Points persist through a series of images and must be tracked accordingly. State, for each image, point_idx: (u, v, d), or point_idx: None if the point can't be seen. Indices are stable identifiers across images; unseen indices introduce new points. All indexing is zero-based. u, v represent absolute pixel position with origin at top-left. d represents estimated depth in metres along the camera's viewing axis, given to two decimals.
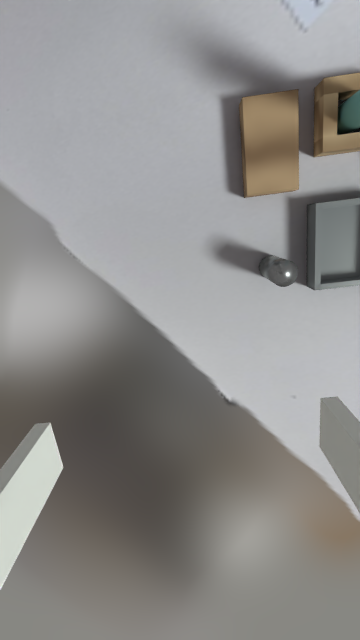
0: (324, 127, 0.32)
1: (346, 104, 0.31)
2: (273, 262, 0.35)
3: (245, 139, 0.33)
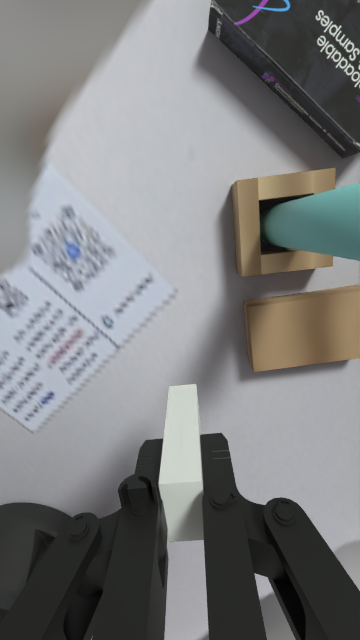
0: (301, 268, 0.23)
1: None
2: None
3: (300, 364, 0.26)
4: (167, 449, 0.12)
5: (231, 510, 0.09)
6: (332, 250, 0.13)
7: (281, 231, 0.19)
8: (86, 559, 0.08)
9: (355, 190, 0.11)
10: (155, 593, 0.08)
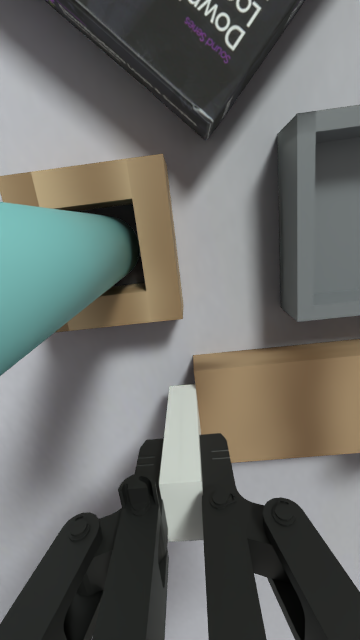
0: (132, 321, 0.14)
1: None
2: None
3: (275, 457, 0.17)
4: (167, 449, 0.12)
5: (231, 510, 0.09)
6: None
7: None
8: (86, 559, 0.08)
9: None
10: (155, 593, 0.08)
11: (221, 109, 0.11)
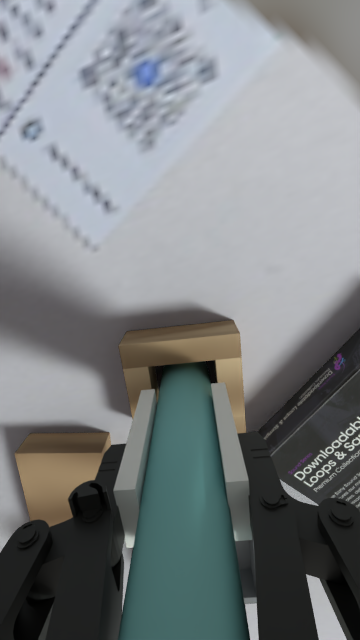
0: (133, 413, 0.19)
1: None
2: None
3: (27, 499, 0.21)
4: (128, 455, 0.12)
5: (282, 511, 0.09)
6: (141, 544, 0.08)
7: (176, 408, 0.14)
8: (36, 564, 0.08)
9: (230, 601, 0.07)
10: (109, 596, 0.08)
11: None
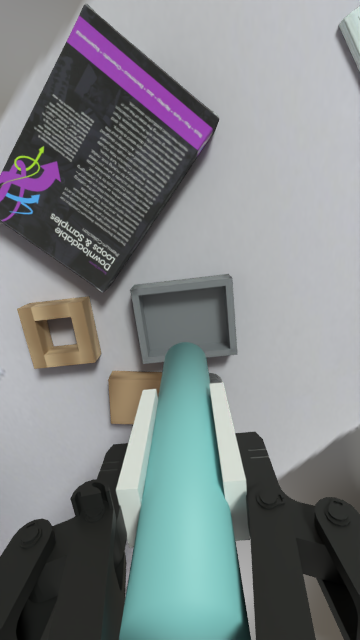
0: (73, 363, 0.33)
1: (161, 378, 0.19)
2: None
3: None
4: (130, 454, 0.12)
5: (279, 511, 0.09)
6: (151, 482, 0.11)
7: (177, 385, 0.16)
8: (39, 563, 0.08)
9: (221, 516, 0.09)
10: (111, 595, 0.08)
11: (105, 288, 0.30)
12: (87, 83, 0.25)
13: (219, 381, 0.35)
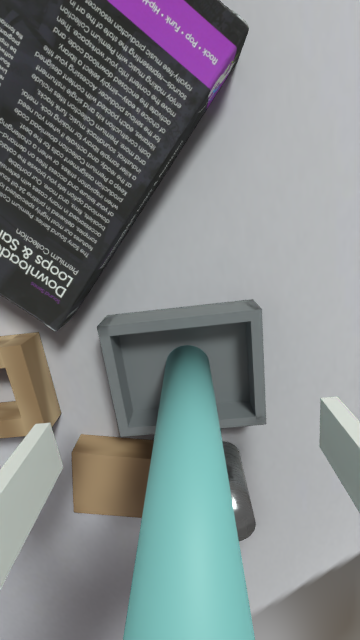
0: (14, 435, 0.22)
1: None
2: None
3: (123, 514, 0.24)
4: None
5: None
6: (151, 501, 0.10)
7: (179, 392, 0.15)
8: None
9: (228, 542, 0.08)
10: None
11: (60, 325, 0.19)
12: None
13: (236, 457, 0.23)
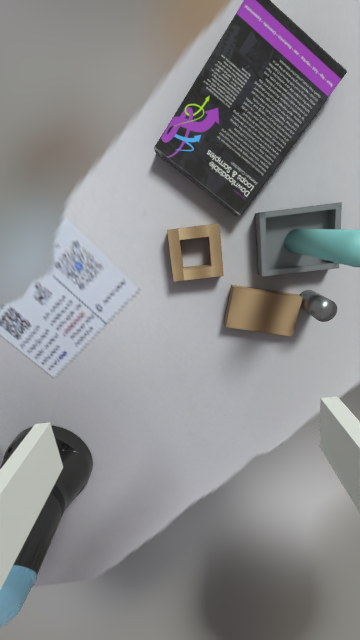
0: (206, 276, 0.41)
1: (293, 238, 0.38)
2: None
3: (253, 330, 0.44)
4: None
5: None
6: (329, 235, 0.30)
7: (313, 229, 0.35)
8: None
9: None
10: None
11: (243, 211, 0.39)
12: (248, 45, 0.33)
13: (318, 294, 0.43)
